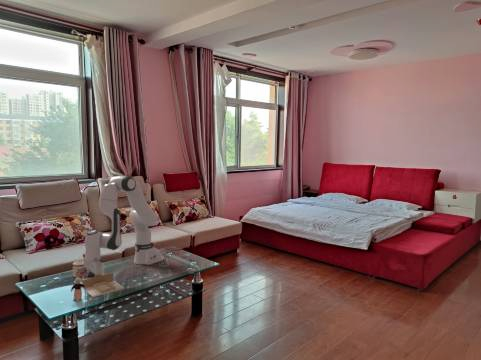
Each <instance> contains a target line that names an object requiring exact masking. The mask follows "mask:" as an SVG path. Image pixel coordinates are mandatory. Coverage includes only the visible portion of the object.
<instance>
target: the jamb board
mask: <svg viewBox="0 0 481 360" xmlns="http://www.w3.org/2000/svg"><path fill="white" fill-rule="evenodd" d="M73 283H75V284H76V282H75V280H74V281H73ZM80 283H81V284H83V285H85V288H86V289H84V288H83V287H81V289H82V290H84V291H85V292H86V293H88V294H89V295H88V296H90V297H91V298H96V297H99V296H104V295H106V294H110V293H113V292H117V291H121V290H124V289H125V287H124V286H123V285H122V284H120V283H118V282H117V281H115V280H114V272H109V273H102V274H101V275H99V276H95V277H91V278H87V279H85V278H83V277H81V282H80Z"/></svg>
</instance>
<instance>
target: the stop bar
mask: <svg viewBox="0 0 481 360" xmlns="http://www.w3.org/2000/svg"><path fill="white" fill-rule="evenodd" d="M100 275H101V274H100ZM98 276H99V275H98ZM84 277H85V278H84V279H87V278H91V277H95V275H94V273H93V272H89V273H88V272H87V273H85V276H84Z"/></svg>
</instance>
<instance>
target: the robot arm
mask: <svg viewBox="0 0 481 360" xmlns="http://www.w3.org/2000/svg"><path fill="white" fill-rule="evenodd" d="M123 192H124V193H125V195H126V197H127V200H128V202H129V205H130V207H131V208H132V210H130V212H129V213H128V214H129V215H128V219H129V220H130V222H131V223H132V225H133V228H134V233H135V244H134V251H135V253H134V260H133V263H134V264H136V265H153V264H155V263H159V262H162V261H165V257H164V256H162V254H161V251H160V250H159V249H158V248H156V245H157V243H155V242H153V241H152V232H151V230H150V229H149V227H153V226H155V225H156V224H158V219H159V218H158V217H159V216H158V214H157V213H156V212H155V211H153V209H152V207H150V205H149V204H148V202H147V200H146V197H145V195H144V192H143V189H142V187H141V185H140V183H139V182H138V180H137V179H135V178H134V177H133V176H130V175H113V176H109V177H108V178H107V180H106V182H105V184H104V185H102V189H101V191H100V194H99V195H100V196H99V200H98V209H99V211H101V213H103V214H104V215H105V216H107V217H109V218H110V221H111V233H107V232H102V231H99V230H98V229H92V230H89V231H86V233H85V235H84V236H85V237H84V247H85V250H84V253H82V257H83V260H84V266H85V268H87V270H88V271H87V273H89V272H93V273H94V275H95V276H98V275H100V274H103V265H102V261H100V260H101V258H102V257H101V249H108V250H112V251H116V250H117V249H119V248H120V247H121V245H122V241H123V240H122V234H121V232H122V230H121V229H122V228H121V224H122V223H121V222H122V221H121V220H122V219H121V211H120V209H119V208H118V196H119V193H123ZM154 246H155V247H154Z"/></svg>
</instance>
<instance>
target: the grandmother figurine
mask: <svg viewBox="0 0 481 360" xmlns="http://www.w3.org/2000/svg"><path fill="white" fill-rule="evenodd" d="M81 279H82V277H75V279H74V281H75V282H76V283H75V282H74V283H75V284H73V286H71V288H70V293H71V292H73V291H74V293H73V299H72V302H76V301H82V300H83V299H82V298H83V297H82V295H83V291H82V290H84V289H86V288H85V285H83V284H81V283H80V282H81ZM81 287H83V288H84V289H83V288H81Z"/></svg>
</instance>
